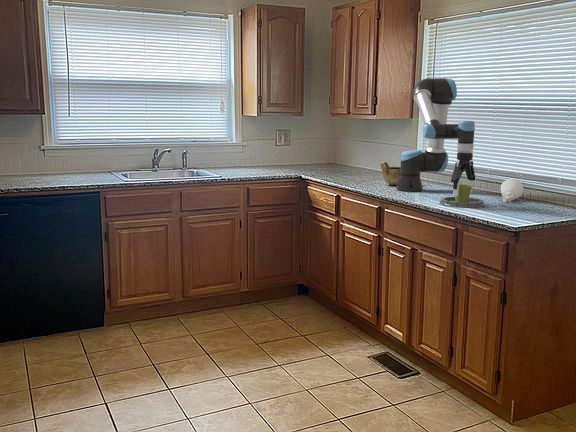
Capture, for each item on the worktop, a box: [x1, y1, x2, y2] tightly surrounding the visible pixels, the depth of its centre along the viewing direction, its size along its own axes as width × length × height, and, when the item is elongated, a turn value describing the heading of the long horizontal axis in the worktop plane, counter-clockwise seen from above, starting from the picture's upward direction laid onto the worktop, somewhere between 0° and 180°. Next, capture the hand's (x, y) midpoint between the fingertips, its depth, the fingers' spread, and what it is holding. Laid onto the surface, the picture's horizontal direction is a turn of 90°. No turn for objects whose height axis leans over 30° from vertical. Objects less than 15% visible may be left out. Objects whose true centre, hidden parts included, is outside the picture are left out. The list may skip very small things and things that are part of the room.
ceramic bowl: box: [379, 161, 400, 187], centre depth 368 cm, size 22×17×15 cm
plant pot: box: [454, 184, 473, 203], centre depth 298 cm, size 9×9×9 cm
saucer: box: [438, 196, 485, 209], centre depth 299 cm, size 22×22×2 cm
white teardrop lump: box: [500, 178, 524, 204], centre depth 309 cm, size 12×12×18 cm
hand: (462, 194), depth 298 cm, fingers open, 13 cm apart
